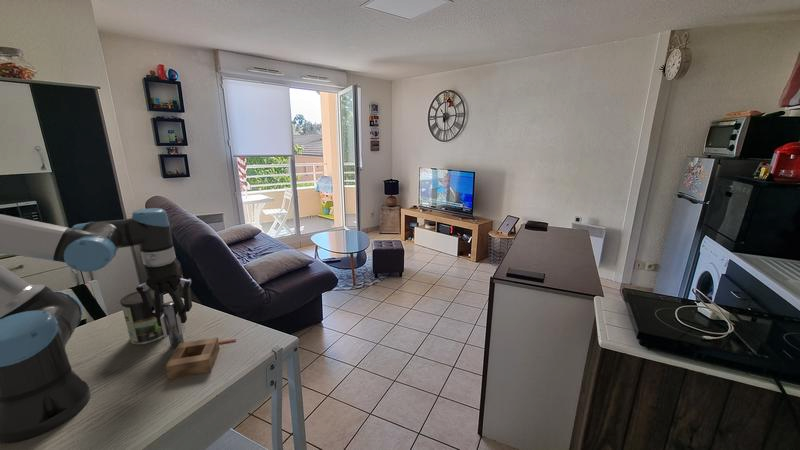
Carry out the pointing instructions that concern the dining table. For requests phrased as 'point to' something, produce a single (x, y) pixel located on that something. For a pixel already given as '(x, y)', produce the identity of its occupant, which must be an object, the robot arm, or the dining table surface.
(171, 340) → the steel round rod
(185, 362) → the wooden square frame
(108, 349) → the dining table surface
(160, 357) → the dining table surface
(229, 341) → the thin red bar
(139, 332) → the coffee can
